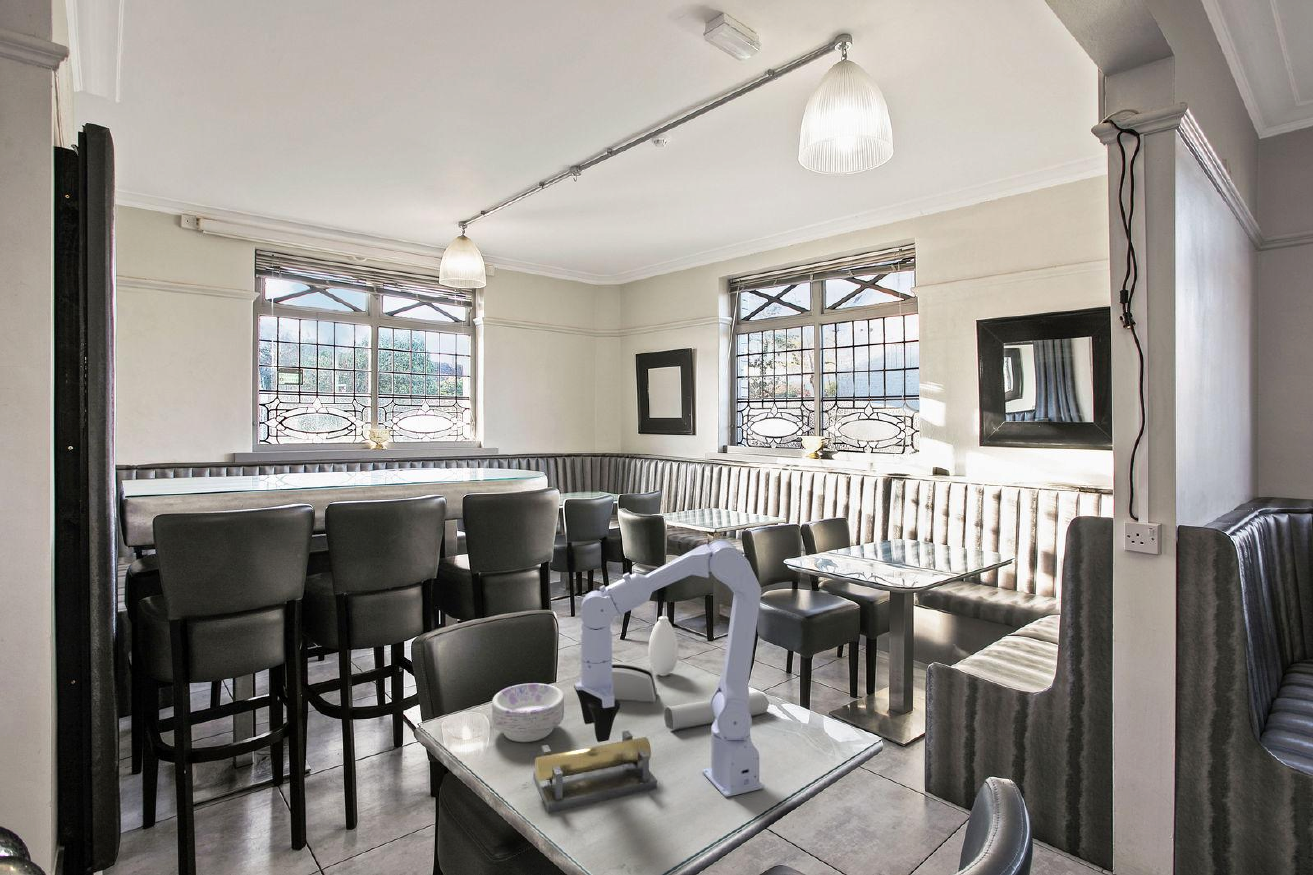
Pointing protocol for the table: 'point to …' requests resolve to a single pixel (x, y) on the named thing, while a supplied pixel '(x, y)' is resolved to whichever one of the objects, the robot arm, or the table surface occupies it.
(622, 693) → the white rounded block
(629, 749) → the brass pin
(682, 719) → the tube
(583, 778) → the corner post stand
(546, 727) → the paper bowls
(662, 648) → the white air blower bulb
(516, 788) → the table surface
